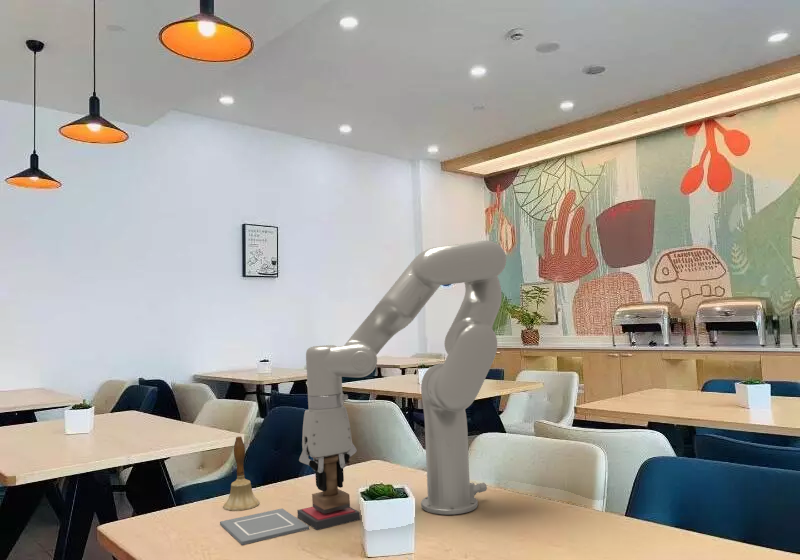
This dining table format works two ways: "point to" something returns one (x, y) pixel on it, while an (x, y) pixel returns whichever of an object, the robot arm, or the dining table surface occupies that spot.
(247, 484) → the hand bell
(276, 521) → the board
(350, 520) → the ink pad
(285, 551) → the dining table surface
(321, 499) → the stamp
